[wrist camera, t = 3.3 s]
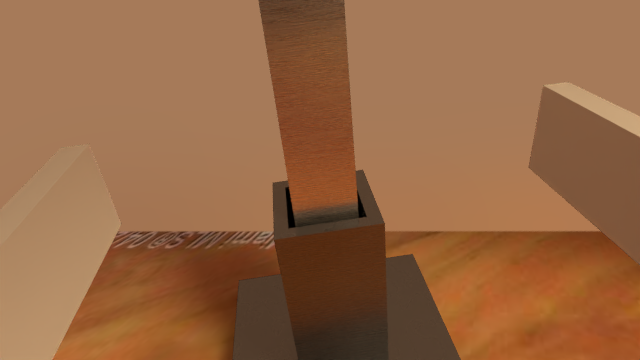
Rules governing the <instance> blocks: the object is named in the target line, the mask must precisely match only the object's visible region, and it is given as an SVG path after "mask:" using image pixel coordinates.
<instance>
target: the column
mask: <svg viewBox="0 0 640 360" xmlns="http://www.w3.org/2000/svg"><path fill="white" fill-rule="evenodd" d="M259 6H260V13H261V18H262V25H263V31H264V36H265V43H266V49H267V55H268V61H269V67H270V74H271V80H272V86H273V91H274V98H275V104H276V110H277V116H278V122H279V128H280V134H281V141H282V147H283V153H284V159H285V165H286V171H287V176H288V183H289V189H290V196H291V202H292V208H293V214H294V220H295V226H296V227H302V226H309V225H316V224H322V223H329V222H336V221H343V220H349V219H356V218H359V214H358V199H357V184H356V170H355V155H354V140H353V125H352V111H351V95H350V81H349V65H348V52H347V36H346V21H345V7H344V0H259Z"/></svg>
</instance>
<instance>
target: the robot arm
mask: <svg viewBox="0 0 640 360" xmlns="http://www.w3.org/2000/svg"><path fill="white" fill-rule="evenodd" d="M529 168H530V169H531V170H532V171H533V172H534V173H536V174H537V175H538V176H539V177H540V178H541V179H542V180H543V181H545V182H546V183H547V184H548V185H549V186H550V187H551V188H553V189H554V190H555V191H556V192H557V193H558V194H559V195H561V196H562V197H563V198H564V199H565V200H566V201H567V202H568V203H570V204H571V205H572V206H573V207H574V208H575V209H576V210H578V211H579V212H580V213H581V214H582V215H583V216H585V217H586V218H587V219H588V220H589V221H590V222H591V223H592V224H593V225H595V226H596V227H597V228H598V229H599V230H600V231H601V232H603V233H604V234H605V235H606V236H607V237H608V238H609V239H611V240H612V241H613V242H614V243H615V244H616V245H617V246H618V247H620V248H621V249H622V250H623V251H624V252H625V253H626V254H628V255H629V256H630V257H631V258H632V259H633V260H634V261H636V262H637V263H638V264H639V265H640V116H638V115H636V114H634V113H632V112H630V111H627V110H625V109H623V108H621V107H619V106H617V105H615V104H613V103H611V102H609V101H607V100H604V99H603V98H600V97H598V96H596V95H594V94H592V93H590V92H588V91H586V90H584V89H582V88H579V87H578V86H575V85H573V84H571V83H569V82H566V83H558V84H550V85H543V90H542V95H541V101H540V107H539V112H538V118H537V123H536V129H535V135H534V140H533V146H532V152H531V157H530V163H529ZM120 226H121V221H120V218H119V216H118V214H117V211H116V209H115V206H114V204H113V202H112V199H111V197H110V194H109V192H108V189H107V187H106V184H105V182H104V180H103V177H102V175H101V172H100V170H99V167H98V165H97V162H96V160H95V158H94V155H93V153H92V150H91V148H90V145H89V144H86V145H78V146H71V147H63V148H60V149H59V150H58V152H56V153H55V154H54V156H53V157H52V158H50V159H49V160H48V162H47V163H46V164H45V165H44V166H43V167H42V168H41V169H40V170H39V171H38V172H37V173H36V174H35V175H34V176H33V177H32V178H31V179H30V180H29V181H28V182H27V183H26V184H25V185H24V186H23V187H22V188H21V189H20V190H19V191H18V192H17V193H16V194H15V195H14V196H13V197H12V198H11V199H10V200H9V201H8V202H7V203H6V204H5V205H4V206H3V207H2V208H1V209H0V360H53V358H54V356H55V354H56V352H57V350H58V348H59V346H60V344H61V342H62V340H63V338H64V336H65V334H66V332H67V330H68V328H69V326H70V324H71V322H72V320H73V318H74V316H75V314H76V312H77V310H78V309H79V307H80V305H81V303H82V301H83V299H84V297H85V295H86V293H87V291H88V289H89V287H90V285H91V283H92V281H93V279H94V277H95V275H96V273H97V271H98V269H99V267H100V265H101V263H102V261H103V259H104V257H105V256H106V254H107V252H108V250H109V248H110V246H111V244H112V242H113V240H114V238H115V236H116V234H117V232H118V230H119V228H120Z"/></svg>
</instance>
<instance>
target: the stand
mask: <svg viewBox="0 0 640 360" xmlns="http://www.w3.org/2000/svg"><path fill="white" fill-rule="evenodd" d="M356 184H357V199H358V214H359V218H356V219H349V220H343V221H336V222H329V223H322V224H316V225H309V226H302V227H296V226H295V220H294V214H293V208H292V202H291V196H290V189H289V183H288V181H282V182H275V183H273V216H274V242H275V247H276V252H277V257H278V262H279V267H280V272H281V274H279V275H272V276H266V277H259V278H253V279H246V280H239V286H238V299H237V311H236V323H235V336H234V348H233V360H461V359H460V357H459V355H458V353H457V350H456V348H455V346H454V344H453V342H452V339H451V337H450V335H449V333H448V331H447V328H446V326H445V324H444V322H443V320H442V318H441V315H440V313H439V311H438V309H437V307H436V304H435V302H434V300H433V298H432V296H431V293H430V291H429V289H428V287H427V285H426V282H425V280H424V278H423V276H422V274H421V271H420V269H419V267H418V265H417V263H416V260H415V258H414V256H413V254H410V255H403V256H397V257H390V258H386V254H385V223H384V221H383V218H382V216H381V213H380V211H379V208H378V206H377V204H376V201H375V198H374V196H373V194H372V191H371V189H370V186H369V184H368V181H367V179H366V176H365V174H364V171H363V170H359V171H356Z"/></svg>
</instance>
